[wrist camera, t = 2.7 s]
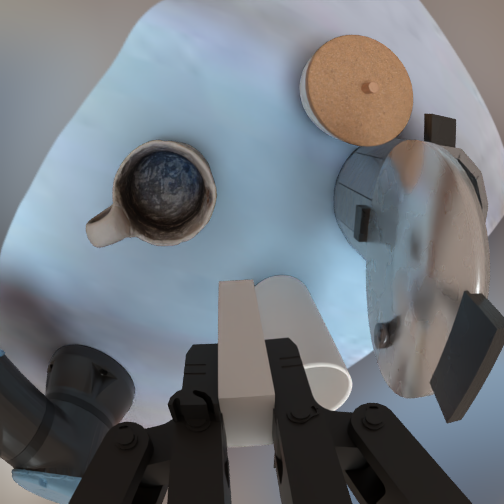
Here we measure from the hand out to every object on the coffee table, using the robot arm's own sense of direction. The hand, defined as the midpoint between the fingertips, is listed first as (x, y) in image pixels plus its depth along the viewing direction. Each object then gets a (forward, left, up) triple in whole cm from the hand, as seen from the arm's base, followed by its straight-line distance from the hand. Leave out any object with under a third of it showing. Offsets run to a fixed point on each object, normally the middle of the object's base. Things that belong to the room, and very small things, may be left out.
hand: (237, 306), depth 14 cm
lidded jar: (+12, +12, -21) cm, 27 cm away
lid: (+11, 0, -1) cm, 11 cm away
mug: (-7, +2, -22) cm, 23 cm away
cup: (+6, -14, -21) cm, 26 cm away
